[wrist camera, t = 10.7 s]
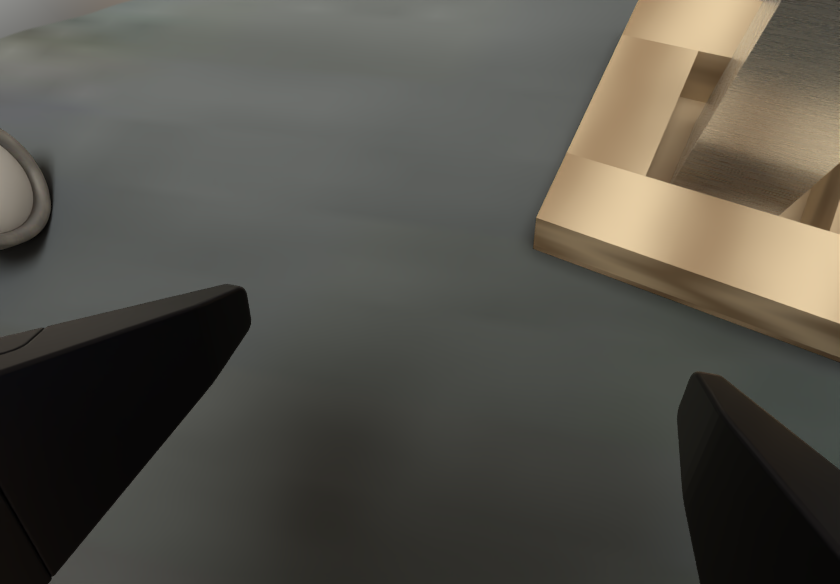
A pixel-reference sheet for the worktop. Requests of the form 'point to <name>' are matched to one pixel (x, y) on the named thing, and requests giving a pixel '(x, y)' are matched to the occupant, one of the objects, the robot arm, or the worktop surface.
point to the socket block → (683, 208)
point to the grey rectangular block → (771, 111)
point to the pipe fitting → (20, 194)
